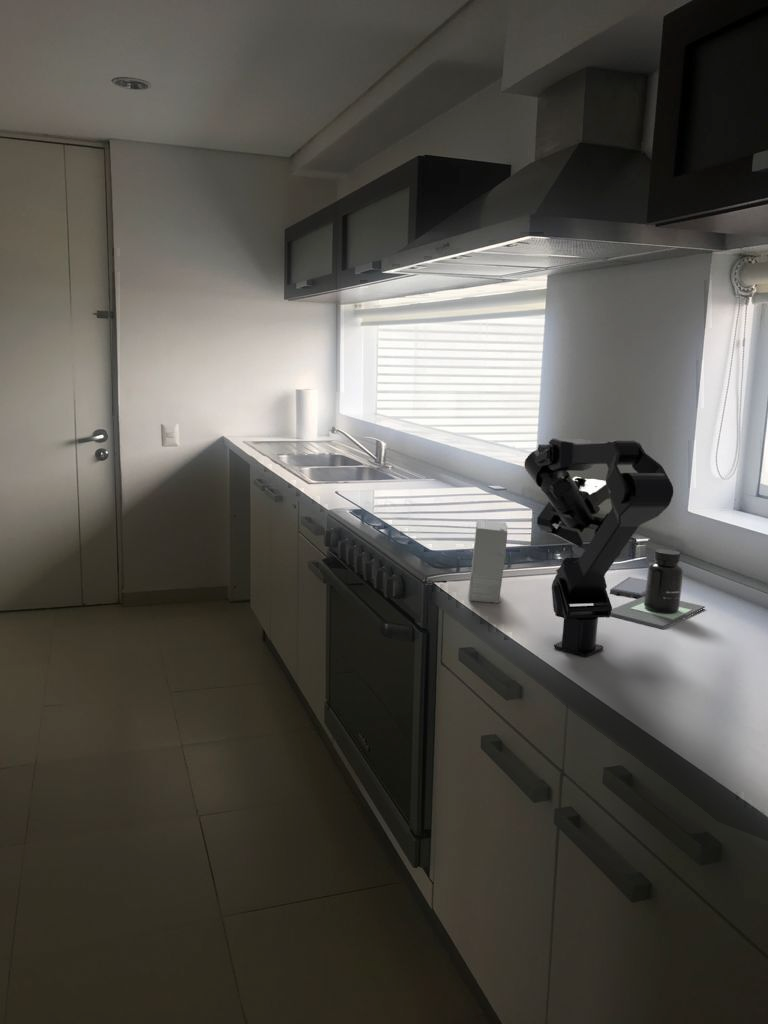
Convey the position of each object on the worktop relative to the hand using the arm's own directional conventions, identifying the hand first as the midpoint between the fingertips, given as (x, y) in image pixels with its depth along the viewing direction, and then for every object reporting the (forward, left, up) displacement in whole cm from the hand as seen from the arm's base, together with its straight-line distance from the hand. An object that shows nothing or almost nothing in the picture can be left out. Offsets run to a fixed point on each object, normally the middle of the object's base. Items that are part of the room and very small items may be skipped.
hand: (599, 550), depth 167 cm
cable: (+22, +1, -14) cm, 26 cm away
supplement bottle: (+13, -8, -13) cm, 20 cm away
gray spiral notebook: (+14, -7, -14) cm, 20 cm away
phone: (+27, +4, -14) cm, 30 cm away
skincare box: (-5, +22, -14) cm, 27 cm away
